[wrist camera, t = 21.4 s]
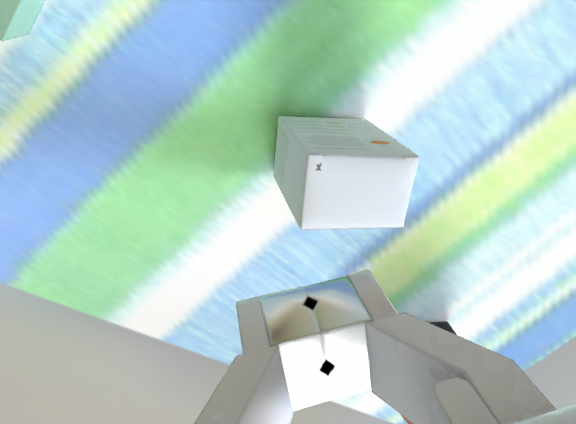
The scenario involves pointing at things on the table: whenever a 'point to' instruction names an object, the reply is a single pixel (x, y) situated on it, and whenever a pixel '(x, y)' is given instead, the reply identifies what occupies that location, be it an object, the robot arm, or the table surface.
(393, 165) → the small box
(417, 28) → the table surface
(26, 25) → the green push button box
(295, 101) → the table surface
